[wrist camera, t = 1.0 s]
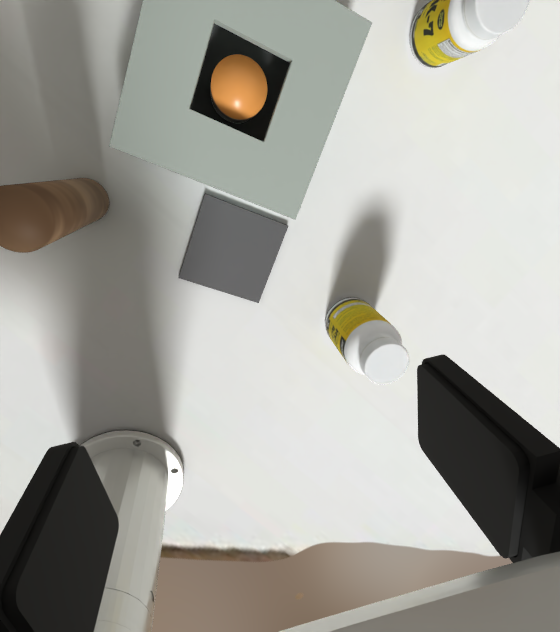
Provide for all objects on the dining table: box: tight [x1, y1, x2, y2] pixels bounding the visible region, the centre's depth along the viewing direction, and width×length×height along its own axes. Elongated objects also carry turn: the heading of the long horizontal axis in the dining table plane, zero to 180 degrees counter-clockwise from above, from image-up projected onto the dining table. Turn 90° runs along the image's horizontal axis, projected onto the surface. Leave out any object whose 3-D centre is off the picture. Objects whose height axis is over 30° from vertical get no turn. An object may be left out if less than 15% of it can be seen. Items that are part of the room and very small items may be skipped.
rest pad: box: [179, 194, 288, 303], centre depth 36 cm, size 8×8×1 cm
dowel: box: [0, 178, 109, 252], centre depth 26 cm, size 4×4×13 cm
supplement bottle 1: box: [325, 298, 409, 385], centre depth 36 cm, size 5×5×10 cm
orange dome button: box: [210, 54, 267, 123], centre depth 28 cm, size 4×4×3 cm
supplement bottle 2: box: [410, 0, 530, 68], centre depth 28 cm, size 5×5×8 cm
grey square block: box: [109, 0, 372, 219], centre depth 29 cm, size 14×14×6 cm
